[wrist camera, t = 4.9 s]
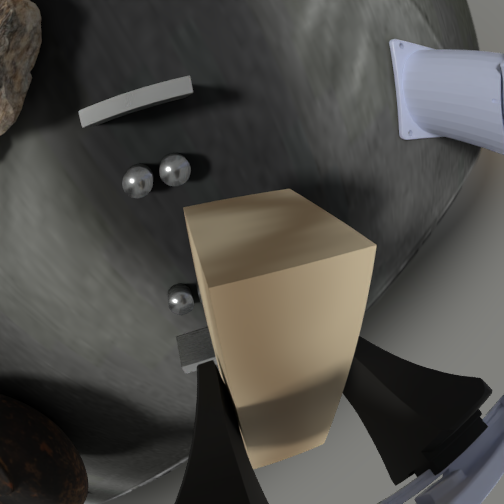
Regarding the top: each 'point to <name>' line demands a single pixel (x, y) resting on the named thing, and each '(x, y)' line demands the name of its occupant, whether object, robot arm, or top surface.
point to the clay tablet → (17, 55)
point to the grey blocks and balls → (140, 184)
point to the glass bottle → (37, 459)
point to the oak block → (280, 313)
